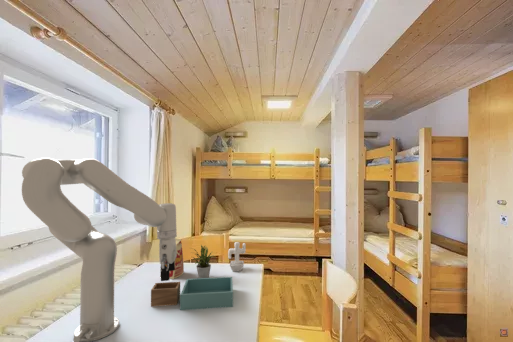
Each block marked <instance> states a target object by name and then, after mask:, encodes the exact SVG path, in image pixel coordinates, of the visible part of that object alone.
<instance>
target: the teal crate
mask: <svg viewBox="0 0 513 342" xmlns="http://www.w3.org/2000/svg"><path fill="white" fill-rule="evenodd" d="M233 282H234V281H233V276H223V277H221V276H220V277H209V278H198V277H197V278H186V280H185V283H184V285H183V288H182V290H181V291H180V299H179V302H180V303H179V305H180V307H179V309H180V311H186V310H187V311H189V310H202V309H203V310H204V309H218V308H220V309H221V308H233V307H234V289H233V287H234V284H233Z"/></svg>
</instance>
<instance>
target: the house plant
mask: <svg viewBox="0 0 513 342" xmlns="http://www.w3.org/2000/svg"><path fill="white" fill-rule="evenodd" d="M200 247H201V249H200V253H199V252H198V251H197V250H196V249H194V248H191V247H190V250H191V249H192V250H193V251H195V252H193V251H191V252H190V254H195V256H196V257H197V258H195V257H194V256H192V259H191V260H190V261H194V265H196V272H197V278H210V273H211V268H212V265H211V262H212V263H213V262H214V260H211V259H210V258H212V257H213V255H212V252H210V253H209V247H207V246H206V245H204V246H203V245H202V244H200ZM208 253H209V255H208Z"/></svg>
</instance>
